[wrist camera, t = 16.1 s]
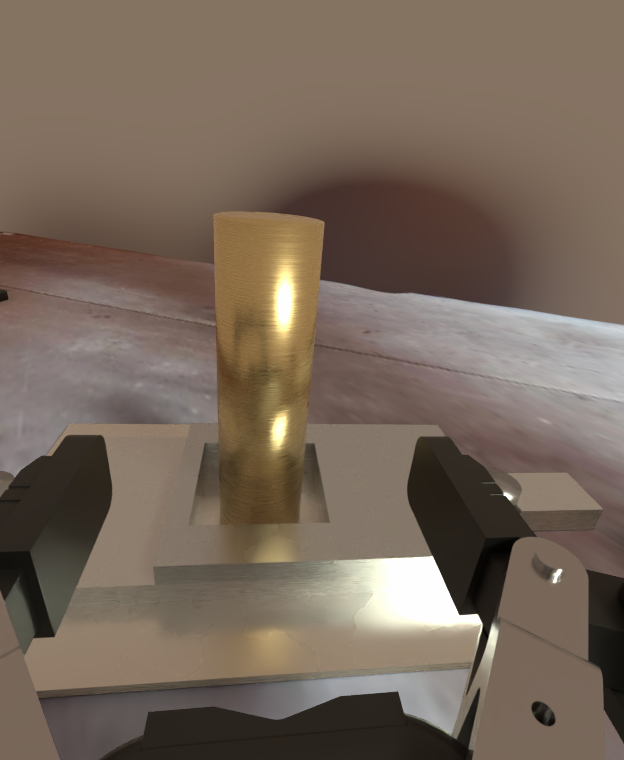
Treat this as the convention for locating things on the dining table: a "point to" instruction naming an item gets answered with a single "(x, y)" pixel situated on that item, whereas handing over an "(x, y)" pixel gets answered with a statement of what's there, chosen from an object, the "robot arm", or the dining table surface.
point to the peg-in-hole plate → (267, 568)
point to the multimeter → (3, 295)
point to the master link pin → (264, 360)
